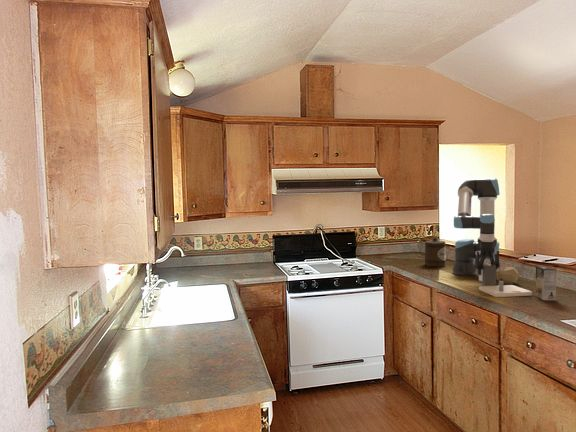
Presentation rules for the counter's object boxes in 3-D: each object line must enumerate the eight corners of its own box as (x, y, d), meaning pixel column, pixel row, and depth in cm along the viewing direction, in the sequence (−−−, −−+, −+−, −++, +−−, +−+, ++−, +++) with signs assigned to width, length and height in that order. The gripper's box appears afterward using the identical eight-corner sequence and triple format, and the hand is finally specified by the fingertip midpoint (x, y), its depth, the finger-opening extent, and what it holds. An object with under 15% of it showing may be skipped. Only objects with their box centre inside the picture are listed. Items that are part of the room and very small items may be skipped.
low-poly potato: (516, 281, 245) (498, 271, 251) (524, 268, 239) (505, 258, 245) (508, 293, 235) (489, 282, 241) (517, 279, 229) (497, 268, 235)
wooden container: (443, 267, 295) (443, 238, 293) (423, 266, 302) (423, 237, 301) (446, 264, 307) (446, 235, 306) (426, 263, 315) (426, 235, 314)
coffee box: (534, 295, 211) (535, 265, 210) (548, 296, 210) (548, 265, 209) (542, 300, 202) (543, 269, 201) (556, 300, 201) (556, 269, 200)
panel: (479, 289, 226) (479, 277, 226) (512, 288, 228) (512, 276, 227) (496, 297, 210) (496, 283, 210) (531, 295, 212) (532, 282, 212)
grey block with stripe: (478, 282, 234) (478, 262, 233) (489, 281, 235) (489, 262, 234) (484, 285, 228) (484, 264, 227) (495, 284, 228) (495, 264, 227)
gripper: (474, 242, 225) (474, 282, 227) (507, 241, 226) (507, 280, 228) (467, 240, 232) (467, 279, 234) (499, 239, 234) (499, 277, 236)
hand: (487, 280), depth 231 cm, fingers closed on grey block with stripe, 7 cm apart
